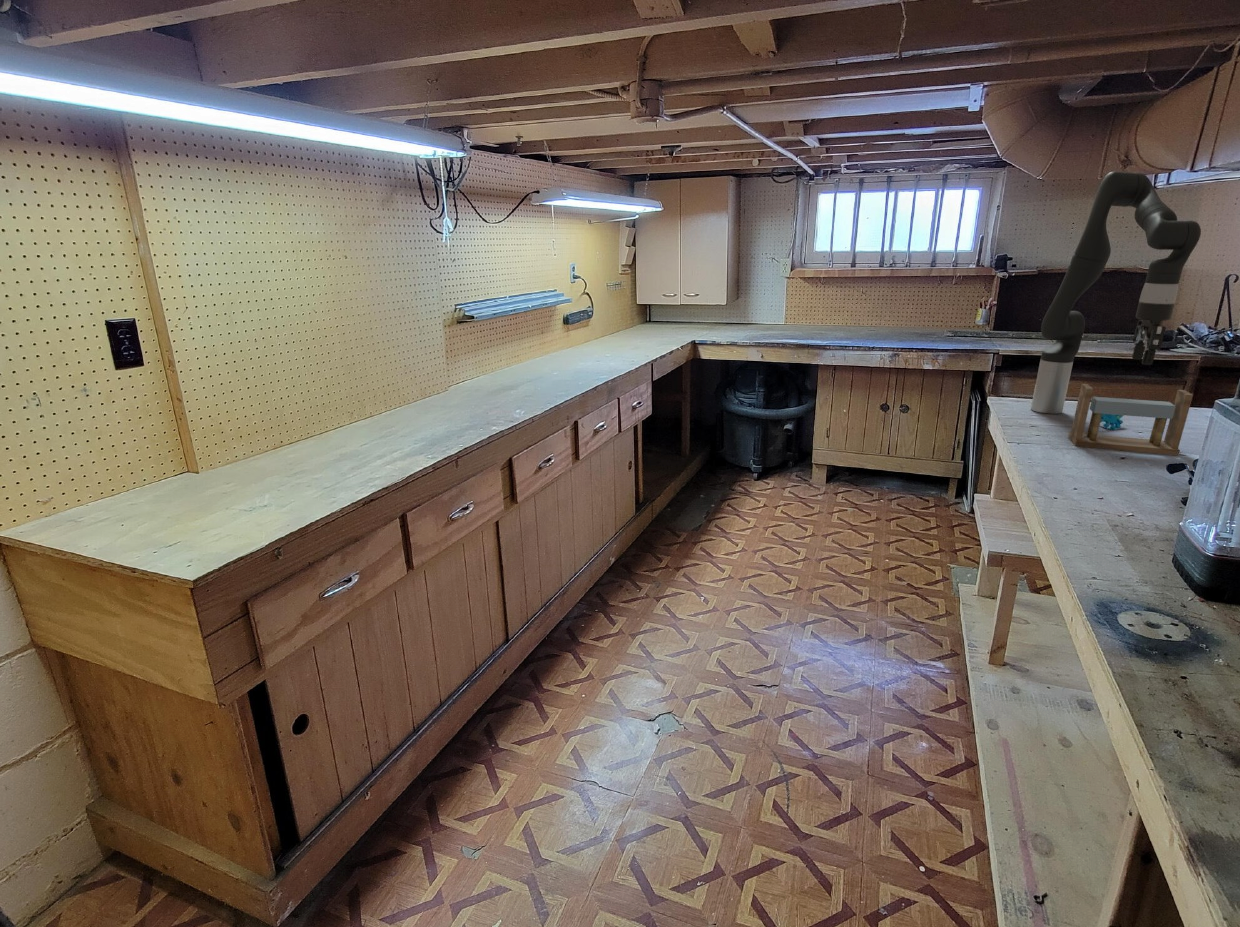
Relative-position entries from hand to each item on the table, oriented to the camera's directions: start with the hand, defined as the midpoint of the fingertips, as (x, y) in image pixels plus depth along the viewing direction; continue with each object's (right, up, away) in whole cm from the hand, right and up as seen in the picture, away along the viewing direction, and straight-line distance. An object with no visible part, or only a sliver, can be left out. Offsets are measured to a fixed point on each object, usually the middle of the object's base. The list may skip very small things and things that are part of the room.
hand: (1141, 361), depth 181 cm
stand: (0, -23, +8) cm, 24 cm away
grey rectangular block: (0, -14, +5) cm, 15 cm away
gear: (+10, -17, +27) cm, 33 cm away
